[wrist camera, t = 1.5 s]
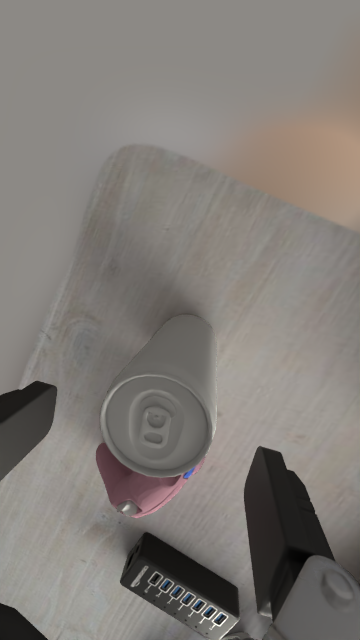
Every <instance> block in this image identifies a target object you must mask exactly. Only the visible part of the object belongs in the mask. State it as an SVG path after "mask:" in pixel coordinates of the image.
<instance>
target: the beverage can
mask: <svg viewBox="0 0 360 640" xmlns="http://www.w3.org/2000/svg"><path fill="white" fill-rule="evenodd" d="M216 420H217V340H216V335H215V333H214V331H213V329H212V327H211V326H210V325H209V324H208V323H207V322H206V321H205V320H203V319H201V318H200V317H197V316H194V315H187V314H183V315H178V316H175V317H173V318H171V319H169V320H168V321H167V322H166V323H165V324H164V325H163V326H162V327H161V328H160V329H159V330H158V332H157V333H156V334H155V335H154V336H153V337H152V338H151V339H150V341H149V342H148V343H147V344H146V345H145V346H144V347H143V348H142V349H141V351H140V352H139V353H138V354H137V355H136V356H135V357H134V358H133V359H132V361H131V362H130V363H129V364H128V365H127V366H126V367H125V368H124V370H123V371H122V372H121V373H120V374H119V375H118V376H117V377H116V378H115V380H114V381H113V383H112V385H111V386H110V388H109V390H108V391H107V395H106V397H105V399H104V400H103V403H102V407H101V411H100V429H101V432H102V436H103V439H104V442H105V443H106V445H107V446H108V448H109V450H110V451H111V453H112V454H113V455H114V456H115V457H116V458H117V459H118V460H119V461H120V462H121V463H122V464H124V465H125V466H127V467H128V468H130V469H132V470H133V471H136V472H138V473H141V474H144V475H146V476H152V477H160V478H163V477H173V476H177V475H180V474H183V473H186V472H188V471H190V470H191V469H192V468H194V467H195V466H197V465H198V464H199V463H200V462H201V461H202V459H203V458H204V457H205V456H206V454H207V453H208V450H209V448H210V445H211V443H212V439H213V436H214V433H215V430H216Z"/></svg>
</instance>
